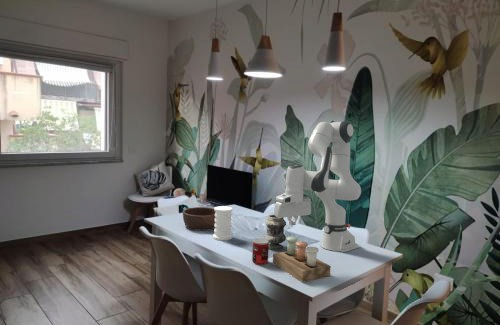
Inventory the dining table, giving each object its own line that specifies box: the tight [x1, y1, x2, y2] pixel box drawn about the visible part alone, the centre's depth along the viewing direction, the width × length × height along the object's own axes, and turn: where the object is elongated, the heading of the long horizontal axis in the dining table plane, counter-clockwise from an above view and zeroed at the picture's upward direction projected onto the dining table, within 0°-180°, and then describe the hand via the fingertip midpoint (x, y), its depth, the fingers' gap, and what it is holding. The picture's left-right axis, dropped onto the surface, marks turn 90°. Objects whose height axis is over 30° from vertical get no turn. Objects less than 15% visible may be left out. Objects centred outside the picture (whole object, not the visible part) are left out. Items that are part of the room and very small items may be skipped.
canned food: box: [251, 238, 270, 266], centre depth 179 cm, size 8×8×11 cm
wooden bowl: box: [182, 206, 215, 231], centre depth 238 cm, size 25×25×10 cm
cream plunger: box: [306, 246, 319, 266], centre depth 164 cm, size 6×6×8 cm
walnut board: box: [272, 249, 332, 283], centre depth 172 cm, size 16×24×5 cm, turn 29°
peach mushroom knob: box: [296, 240, 309, 260], centre depth 171 cm, size 6×6×8 cm
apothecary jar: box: [263, 214, 287, 251], centre depth 202 cm, size 12×12×18 cm
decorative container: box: [212, 205, 233, 242], centre depth 216 cm, size 12×12×18 cm
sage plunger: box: [285, 236, 299, 255], centre depth 178 cm, size 6×6×8 cm
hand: (292, 225), depth 177 cm, fingers closed
